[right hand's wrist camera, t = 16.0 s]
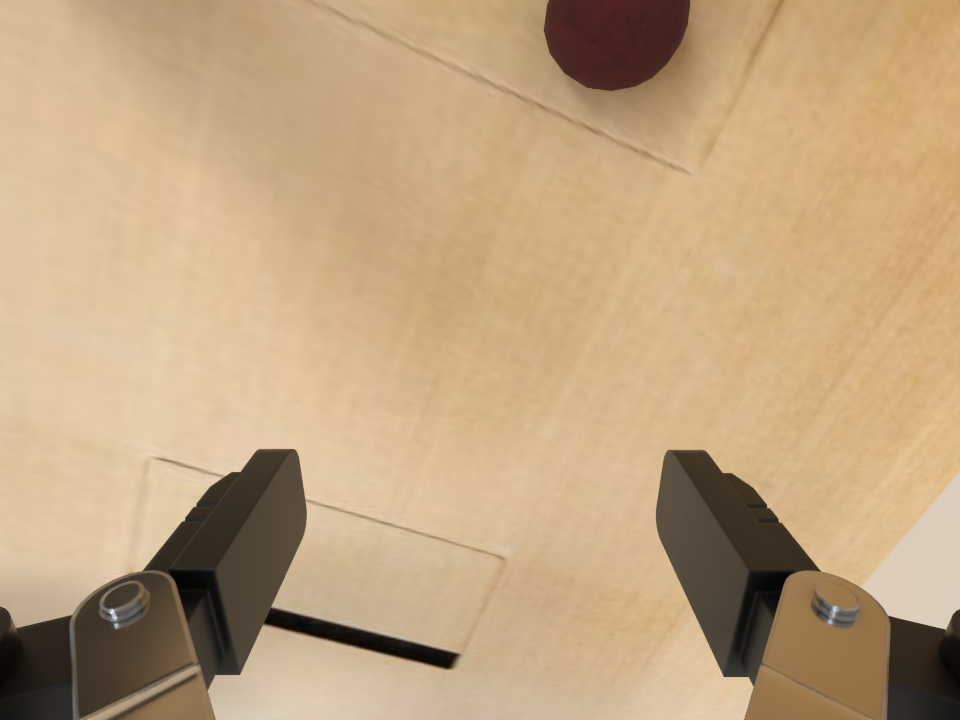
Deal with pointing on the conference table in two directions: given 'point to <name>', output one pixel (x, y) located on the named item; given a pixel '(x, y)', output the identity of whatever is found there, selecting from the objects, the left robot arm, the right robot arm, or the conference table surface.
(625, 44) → the potato
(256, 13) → the conference table surface
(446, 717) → the conference table surface
